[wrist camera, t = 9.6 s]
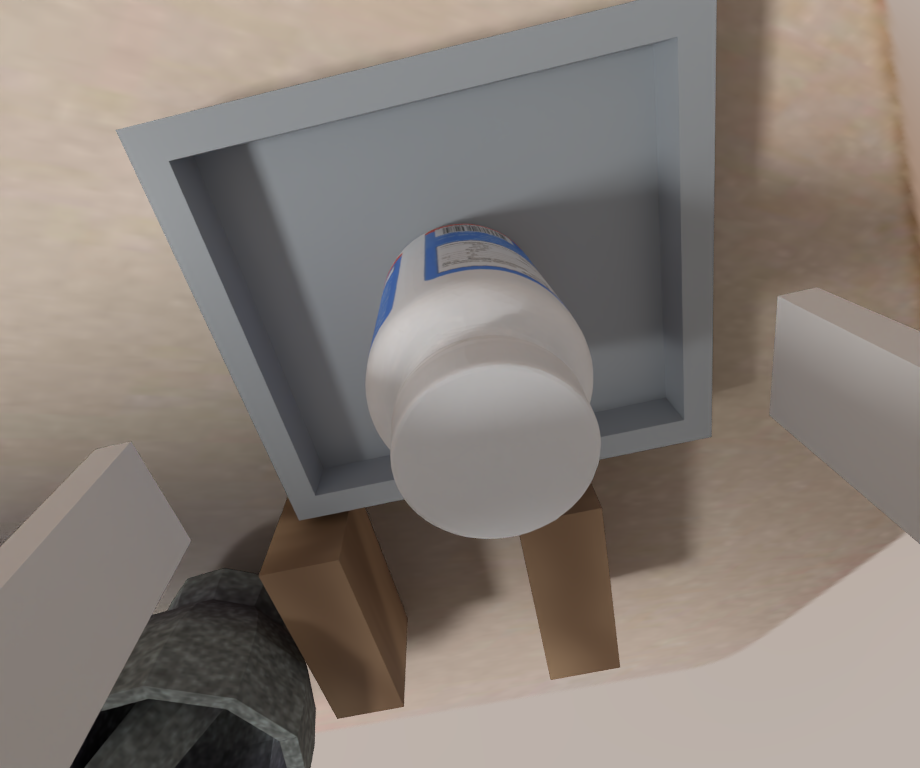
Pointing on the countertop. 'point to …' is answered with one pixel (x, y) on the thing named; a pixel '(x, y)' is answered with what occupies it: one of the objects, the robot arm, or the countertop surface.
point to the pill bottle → (481, 386)
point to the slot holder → (384, 619)
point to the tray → (454, 222)
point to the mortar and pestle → (209, 686)
